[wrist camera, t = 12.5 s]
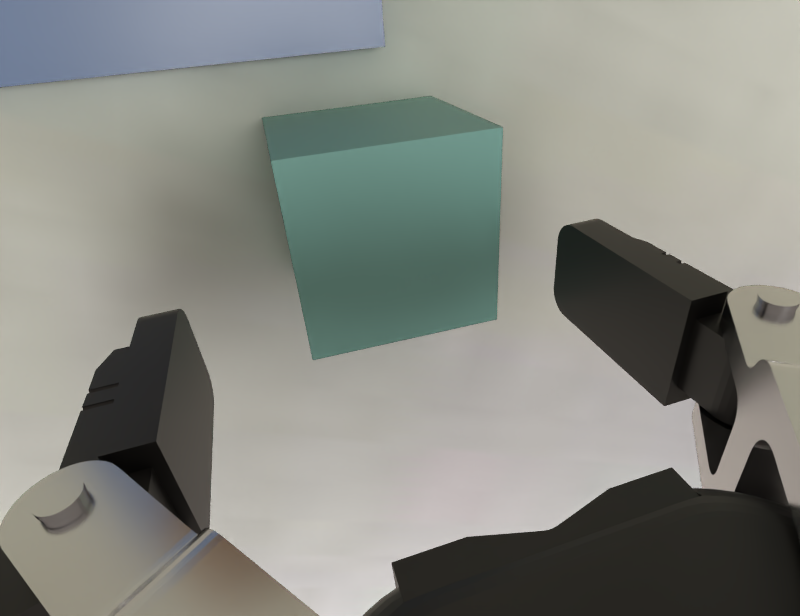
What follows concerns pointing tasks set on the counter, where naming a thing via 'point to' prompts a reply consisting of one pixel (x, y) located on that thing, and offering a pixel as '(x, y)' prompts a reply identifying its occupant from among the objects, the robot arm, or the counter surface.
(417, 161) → the teal cube
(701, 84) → the counter surface
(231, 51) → the board
